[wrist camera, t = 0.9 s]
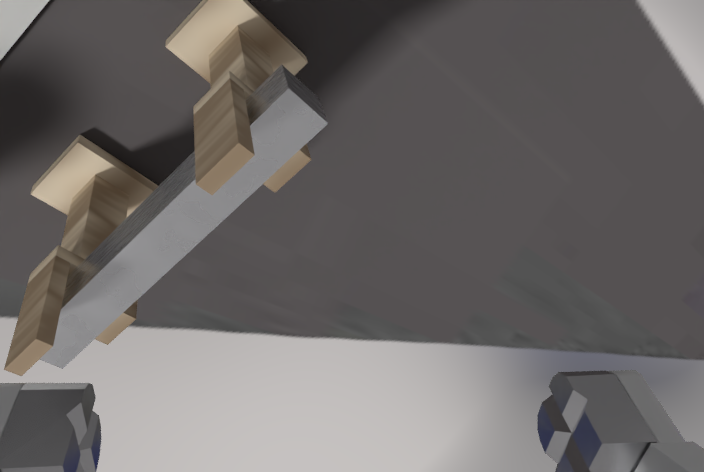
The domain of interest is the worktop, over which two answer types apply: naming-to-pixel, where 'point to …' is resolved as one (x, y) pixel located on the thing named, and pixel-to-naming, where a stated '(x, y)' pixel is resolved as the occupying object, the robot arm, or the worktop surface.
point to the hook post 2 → (232, 85)
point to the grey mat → (16, 20)
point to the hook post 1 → (74, 241)
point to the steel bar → (180, 217)
